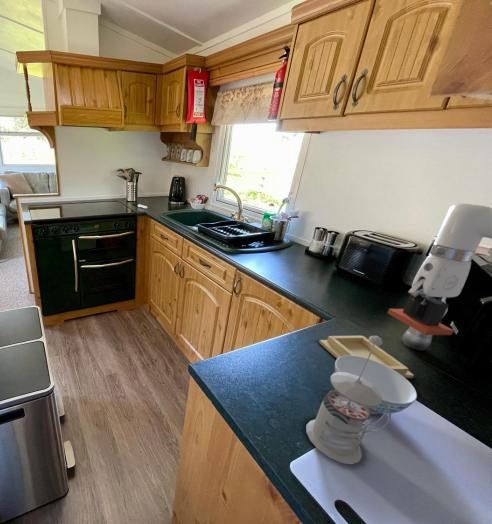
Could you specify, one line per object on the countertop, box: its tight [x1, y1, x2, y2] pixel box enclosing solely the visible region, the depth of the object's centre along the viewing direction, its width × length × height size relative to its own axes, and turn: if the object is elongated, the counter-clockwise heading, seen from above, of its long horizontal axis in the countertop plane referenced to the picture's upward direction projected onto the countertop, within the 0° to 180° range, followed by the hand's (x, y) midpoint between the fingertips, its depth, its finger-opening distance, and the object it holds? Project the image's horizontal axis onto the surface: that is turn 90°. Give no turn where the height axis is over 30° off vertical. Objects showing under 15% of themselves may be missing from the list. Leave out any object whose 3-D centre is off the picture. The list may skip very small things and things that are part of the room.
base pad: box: [318, 335, 415, 379], centre depth 84 cm, size 16×16×3 cm
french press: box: [305, 335, 392, 465], centre depth 54 cm, size 10×12×25 cm
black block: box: [387, 294, 454, 336], centre depth 79 cm, size 8×11×8 cm
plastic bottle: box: [401, 301, 449, 352], centre depth 89 cm, size 6×7×20 cm
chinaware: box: [334, 355, 418, 415], centre depth 67 cm, size 15×15×8 cm
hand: (421, 315), depth 80 cm, fingers closed on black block, 3 cm apart
